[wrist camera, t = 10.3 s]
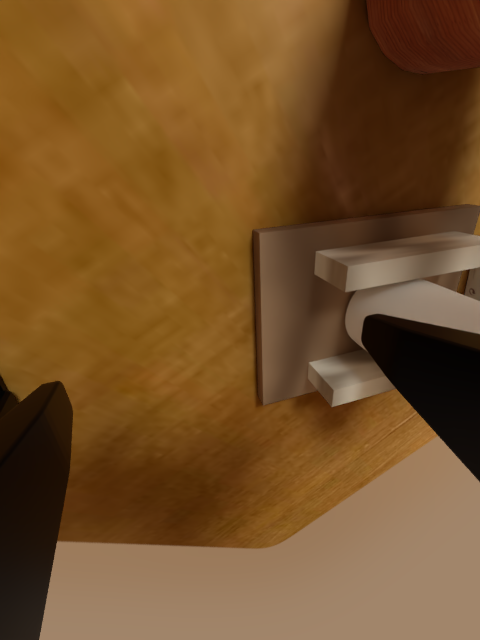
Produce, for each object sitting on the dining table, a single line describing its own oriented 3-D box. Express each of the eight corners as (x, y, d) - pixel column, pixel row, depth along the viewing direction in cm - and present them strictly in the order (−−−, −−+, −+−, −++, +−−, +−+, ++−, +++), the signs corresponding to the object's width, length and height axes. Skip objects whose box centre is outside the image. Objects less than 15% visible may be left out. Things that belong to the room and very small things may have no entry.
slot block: (258, 396, 26) (281, 438, 22) (252, 229, 20) (284, 246, 16) (426, 352, 31) (471, 380, 27) (466, 204, 24) (534, 212, 20)
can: (422, 301, 26) (612, 391, 16) (365, 355, 27) (511, 474, 16) (391, 249, 23) (606, 320, 12) (327, 313, 23) (480, 429, 13)
